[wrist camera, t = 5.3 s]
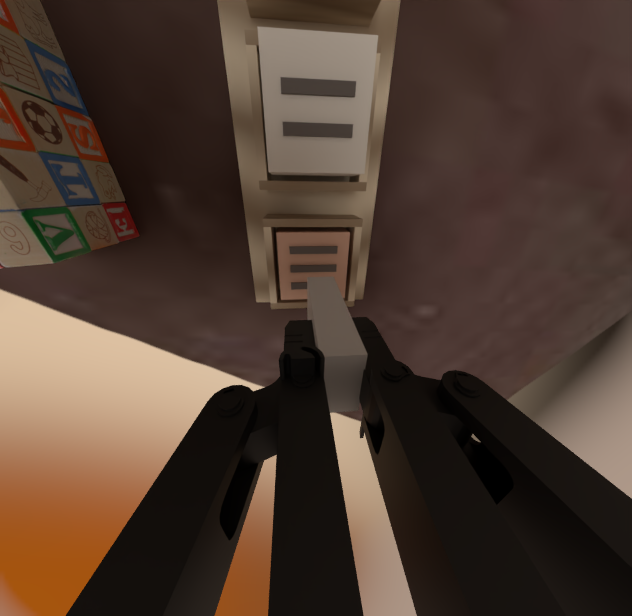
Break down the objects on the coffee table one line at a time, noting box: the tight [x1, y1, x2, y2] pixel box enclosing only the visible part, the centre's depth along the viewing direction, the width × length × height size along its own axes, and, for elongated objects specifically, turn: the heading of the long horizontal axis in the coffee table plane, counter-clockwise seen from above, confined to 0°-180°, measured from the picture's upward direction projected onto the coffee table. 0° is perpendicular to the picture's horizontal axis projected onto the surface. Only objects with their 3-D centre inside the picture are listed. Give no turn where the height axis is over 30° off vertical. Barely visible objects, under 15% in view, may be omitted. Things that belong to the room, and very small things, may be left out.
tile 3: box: [276, 227, 350, 300], centre depth 21 cm, size 6×6×4 cm
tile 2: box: [257, 27, 378, 176], centre depth 14 cm, size 6×6×4 cm
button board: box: [217, 0, 400, 309], centre depth 17 cm, size 30×12×5 cm, turn 179°
